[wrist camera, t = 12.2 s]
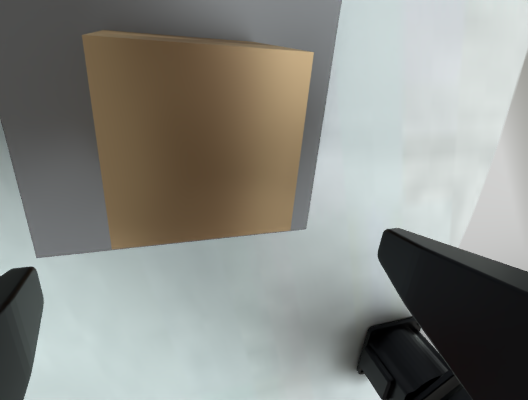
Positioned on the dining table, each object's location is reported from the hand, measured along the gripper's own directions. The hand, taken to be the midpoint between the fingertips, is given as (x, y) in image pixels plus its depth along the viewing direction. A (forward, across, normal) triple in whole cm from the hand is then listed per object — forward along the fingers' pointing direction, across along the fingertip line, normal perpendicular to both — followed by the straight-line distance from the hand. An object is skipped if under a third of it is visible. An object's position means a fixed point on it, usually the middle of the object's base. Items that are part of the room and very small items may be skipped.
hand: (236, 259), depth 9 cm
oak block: (+9, 0, -2) cm, 9 cm away
